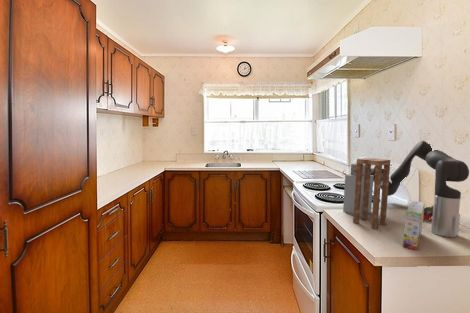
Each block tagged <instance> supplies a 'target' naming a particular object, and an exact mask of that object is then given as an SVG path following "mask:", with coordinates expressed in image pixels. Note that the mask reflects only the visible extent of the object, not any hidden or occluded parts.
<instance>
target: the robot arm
mask: <svg viewBox="0 0 470 313" xmlns="http://www.w3.org/2000/svg"><path fill="white" fill-rule="evenodd" d="M430 145H431V144H430V143H429V144H428V142H427V141H425V140H420V141H419V142H418V143H416V144H415V145H414V146H413V147H412V149H411V150H410V152H409V153H408V154H407V155H406V157H405V158H404V159H403V161H402V162H401V164H400V165H399V166H398V167H397V169H395V171H393V173H392V174H391V175H389V186H388V197H390V196H393V195H394V194H396V192H397V191H398V189H399V188H400V186H401V184H400V182H401V181H402V180H403V179H404V178H405V177H406V178H407V177H409V174H410V172H411V166H412V161H413V159H414V158H415V157H417V158H418V159H421V160H423V161H425V163H426V164H427V165H428V166H429V167H430V168H431V169H433V170H435V172H434V173H435V175H434V176H435V179H434V180H435V181H434V196H433V205H432V206H433V216H432V217H431V218H432V220H431V227H430V232H431V233H433V234H435V235H437V236H441V237H446V238H453V239H455V238H456V237H457V236H458V235H459V230H460V218H461V214H460V206H461V197H462V193H461V191H460V190H458V189H456V188H453V187H450V186H449V185H447V182H450V183H451V182H454V183H455V182H457V183H459V182H460V183H461V182H464V181H466V180H467V179H468V178H469V175H470V170H469V169H470V168H469V166H468V164H466V163H465V162H464V161H462V160H458V159H456V158H453V157H452V156H451V155H448V154H447V153H446V152H444V151H442V150H439V149H438V150H434V151H432V148H431V146H430ZM373 168H374V173H372V174H370V175H374V178H373V183H374V182H375V168H376V165H374V167H373ZM383 170H384V168H382V174H381V188H380V190H382V184H383ZM406 178H405V179H406ZM405 179H404V180H405ZM404 180H403V181H404ZM403 181H402V182H403ZM402 182H401V183H402Z"/></svg>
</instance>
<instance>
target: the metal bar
mask: <svg viewBox="0 0 470 313" xmlns="http://www.w3.org/2000/svg"><path fill="white" fill-rule="evenodd" d="M356 169H357V162H356V163H350V174H351V175H354V176H356ZM372 173H374V167H371V174H372ZM362 176H365V164H363V170H362Z"/></svg>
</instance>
